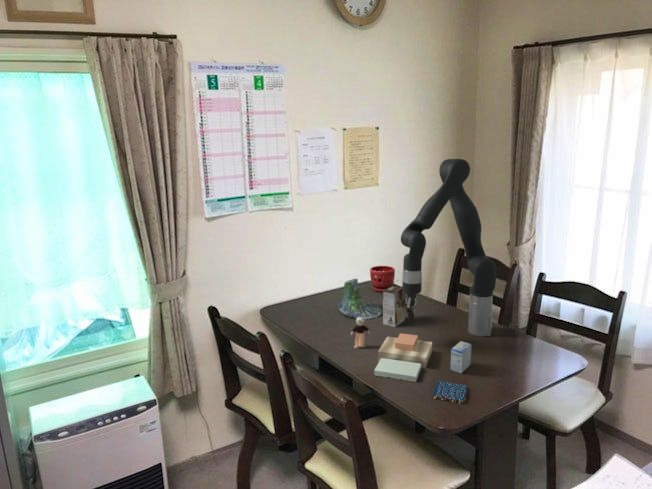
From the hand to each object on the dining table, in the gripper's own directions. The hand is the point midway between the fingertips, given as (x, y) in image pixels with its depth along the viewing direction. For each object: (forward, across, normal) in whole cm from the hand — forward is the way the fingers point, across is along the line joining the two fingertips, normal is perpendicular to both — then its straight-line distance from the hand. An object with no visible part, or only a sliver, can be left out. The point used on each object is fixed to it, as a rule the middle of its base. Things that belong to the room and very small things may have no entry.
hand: (411, 321), depth 199 cm
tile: (+6, -10, 0) cm, 12 cm away
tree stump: (+10, +27, +30) cm, 42 cm away
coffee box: (+10, +20, +12) cm, 25 cm away
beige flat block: (+10, -12, 0) cm, 15 cm away
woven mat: (+11, -33, -21) cm, 41 cm away
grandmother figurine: (+10, -9, +18) cm, 23 cm away
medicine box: (+10, -14, -22) cm, 28 cm away
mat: (+10, -24, -1) cm, 26 cm away
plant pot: (+10, +62, +28) cm, 69 cm away
